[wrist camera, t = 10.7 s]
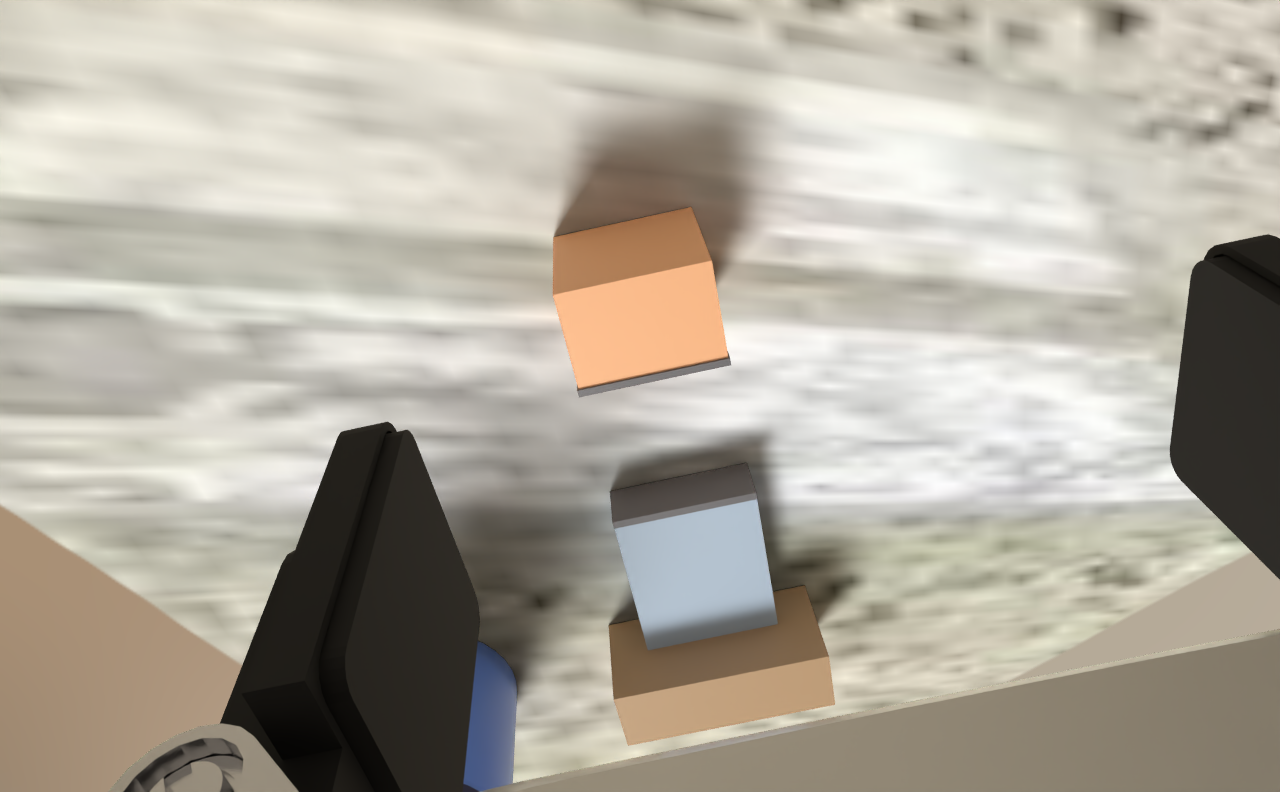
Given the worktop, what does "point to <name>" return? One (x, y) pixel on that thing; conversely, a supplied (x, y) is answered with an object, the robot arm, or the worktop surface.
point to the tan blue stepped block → (707, 613)
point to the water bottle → (491, 723)
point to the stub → (638, 302)
